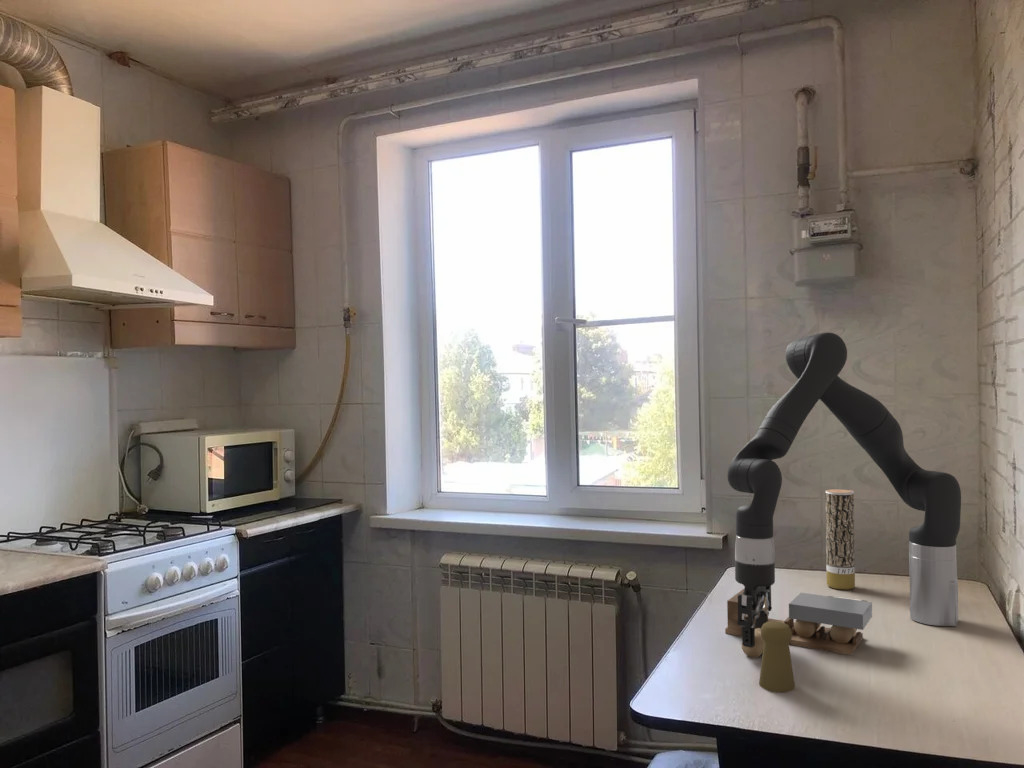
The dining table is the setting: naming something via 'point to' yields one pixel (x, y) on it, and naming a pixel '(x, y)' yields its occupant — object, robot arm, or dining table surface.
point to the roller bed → (796, 639)
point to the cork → (776, 658)
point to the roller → (758, 647)
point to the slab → (831, 610)
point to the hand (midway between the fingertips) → (755, 640)
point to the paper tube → (840, 539)
